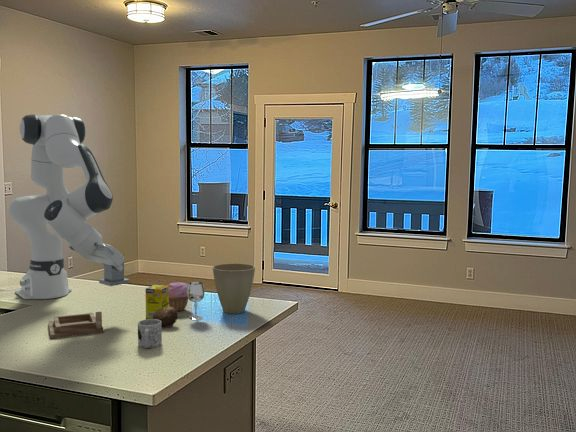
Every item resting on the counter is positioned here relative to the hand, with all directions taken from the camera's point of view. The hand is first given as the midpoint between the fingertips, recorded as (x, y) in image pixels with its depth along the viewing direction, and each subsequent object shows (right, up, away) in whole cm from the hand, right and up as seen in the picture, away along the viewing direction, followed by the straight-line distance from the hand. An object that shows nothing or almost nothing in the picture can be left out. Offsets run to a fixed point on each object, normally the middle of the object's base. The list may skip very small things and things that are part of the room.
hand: (115, 268), depth 187 cm
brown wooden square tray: (-10, -18, -10) cm, 23 cm away
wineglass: (+26, -17, +4) cm, 32 cm away
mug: (+17, -20, -25) cm, 37 cm away
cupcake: (+18, -16, +14) cm, 28 cm away
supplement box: (+13, -18, +3) cm, 22 cm away
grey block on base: (0, -5, 0) cm, 5 cm away
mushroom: (+18, -18, -5) cm, 26 cm away
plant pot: (+38, -17, +13) cm, 43 cm away
